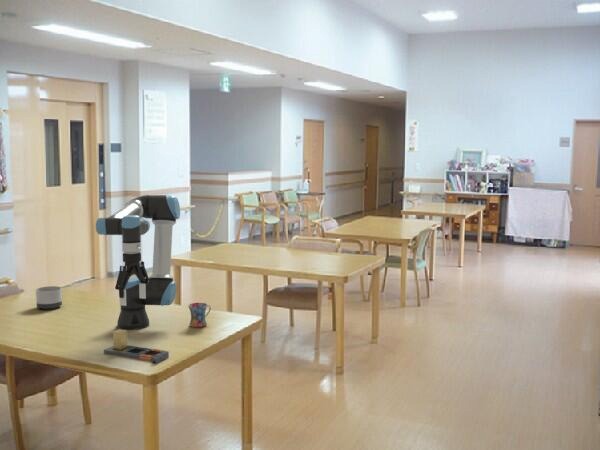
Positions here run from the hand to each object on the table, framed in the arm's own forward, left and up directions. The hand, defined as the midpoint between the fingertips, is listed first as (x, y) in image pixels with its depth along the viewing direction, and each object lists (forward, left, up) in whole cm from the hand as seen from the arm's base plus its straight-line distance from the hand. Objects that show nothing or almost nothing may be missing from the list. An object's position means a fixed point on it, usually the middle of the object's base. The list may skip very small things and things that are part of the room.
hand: (133, 301), depth 267 cm
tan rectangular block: (-3, -5, -21) cm, 22 cm away
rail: (+5, -5, -22) cm, 23 cm away
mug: (+5, +45, -22) cm, 51 cm away
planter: (-89, +42, -22) cm, 101 cm away
